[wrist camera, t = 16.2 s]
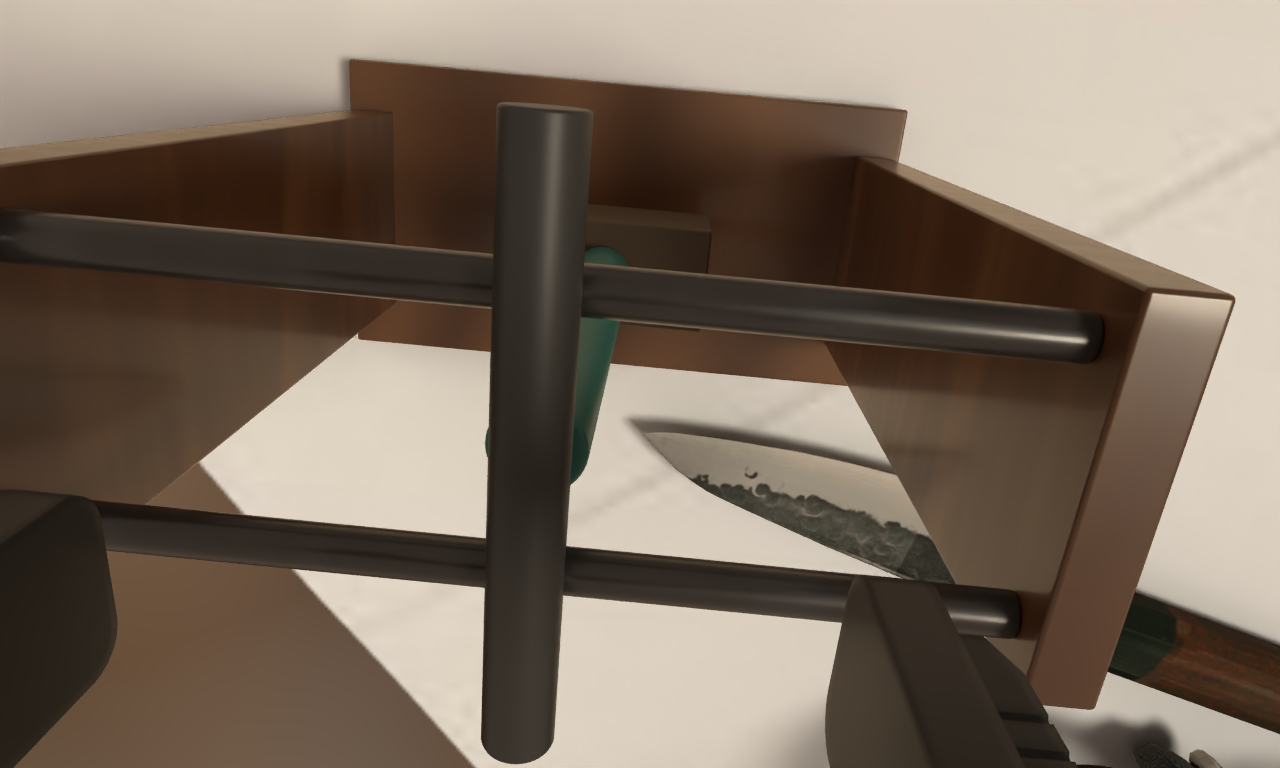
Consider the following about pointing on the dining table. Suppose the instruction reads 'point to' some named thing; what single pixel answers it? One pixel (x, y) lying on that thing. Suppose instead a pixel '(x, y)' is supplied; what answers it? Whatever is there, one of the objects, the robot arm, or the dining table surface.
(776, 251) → the wooden rack
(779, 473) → the kitchen knife
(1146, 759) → the virtual reality headset
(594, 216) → the green t-shaped stand
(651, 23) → the dining table surface
